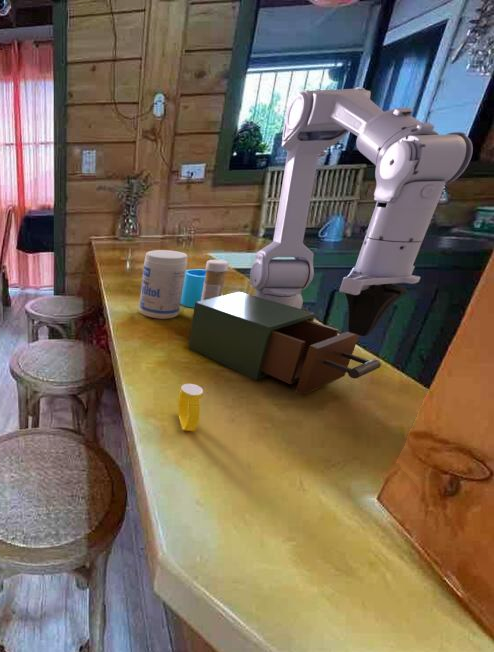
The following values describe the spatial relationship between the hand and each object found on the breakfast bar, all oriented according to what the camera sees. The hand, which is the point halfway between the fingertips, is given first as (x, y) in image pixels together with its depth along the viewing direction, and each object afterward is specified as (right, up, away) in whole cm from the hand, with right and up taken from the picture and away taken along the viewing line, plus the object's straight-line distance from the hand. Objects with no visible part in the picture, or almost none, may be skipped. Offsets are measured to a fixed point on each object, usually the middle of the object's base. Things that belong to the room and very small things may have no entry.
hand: (358, 333), depth 55 cm
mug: (-5, +10, +46) cm, 47 cm away
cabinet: (-8, -4, +16) cm, 19 cm away
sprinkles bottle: (-6, +4, +35) cm, 36 cm away
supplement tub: (-17, +6, +38) cm, 42 cm away
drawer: (-4, -7, +8) cm, 11 cm away
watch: (-26, -13, -2) cm, 29 cm away
